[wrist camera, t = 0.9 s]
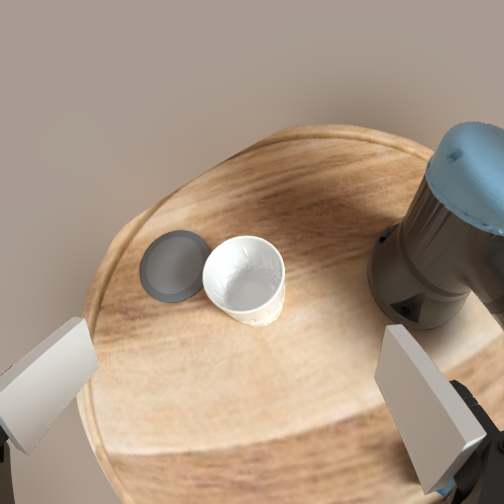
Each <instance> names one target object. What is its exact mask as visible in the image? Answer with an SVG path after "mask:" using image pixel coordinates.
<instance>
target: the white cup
mask: <svg viewBox="0 0 504 504" xmlns="http://www.w3.org/2000/svg"><path fill="white" fill-rule="evenodd" d="M203 286H204V289H205V292H206V294H207V296H208V297H209V299H210V300H211V301H212V302H213V303H214V304H215V305H216V306H218V307H219V308H220V309H222V310H223V311H224V312H226V313H227V314H228V315H230V316H231V317H233V318H234V319H236V320H238V321H239V322H241V323H243V324H246V325H249V326H252V327H260V326H266V325H268V324H269V323H271V322H273V321H274V320H276V319H277V317H278V316H279V314H280V313H281V311H282V309H283V303H284V298H285V268H284V263H283V259H282V257H281V255H280V253H279V252H278V250H277V249H276V248H275V247H274V246H273V245H272V244H271V243H269V242H268V241H266V240H264V239H262V238H259V237H255V236H238V237H234V238H231V239H228V240H226V241H225V242H223V243H221V244H220V245H219V246H217V247H216V248H215V249H214V250H213V251H212V253H211V254H210V255H209V257H208V258H207V260H206V263H205V265H204V269H203Z"/></svg>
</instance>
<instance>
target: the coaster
mask: <svg viewBox="0 0 504 504" xmlns="http://www.w3.org/2000/svg"><path fill="white" fill-rule="evenodd" d="M210 254H211V253H210V250H209V248H208V246H207V244H206V243H205V241H204V240H203V239H202V238H201V237H200V236H198V235H197V234H195V233H193V232H190V231H184V230H179V231H173V232H169V233H167V234H165V235H163V236H161V237H160V238H158V239H157V240H156V241H154V242H153V243H152V245H151V246H150V247H149V248H148V250H147V251H146V253H145V255H144V257H143V260H142V263H141V269H140V275H141V281H142V284H143V286H144V288H145V290H146V291H147V292H148V293H149V294H150V295H151V296H152V297H154V298H155V299H157V300H159V301H162V302H165V303H177V302H181V301H184V300H187V299H189V298H190V297H192V296H193V295H195V294H196V293H197V292H198V291H199V290H200V289H201V288H202V287H203V269H204V265H205V263H206V260H207V258H208V257H209V255H210Z"/></svg>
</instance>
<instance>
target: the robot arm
mask: <svg viewBox="0 0 504 504" xmlns="http://www.w3.org/2000/svg"><path fill="white" fill-rule="evenodd" d="M368 281H369V286H370V289H371V292H372V295H373V297H374V299H375V301H376V303H377V304H378V306H379V307H380V308H381V310H382V311H383V312H384V313H385V314H386V315H387V316H388V317H389V318H390V319H391V320H393V321H394V322H396V323H397V324H398V325H387V326H386V328H385V333H384V338H383V343H382V347H381V352H380V356H379V360H378V364H377V368H376V372H375V376H374V379H375V381H376V383H377V385H378V387H379V389H380V392H381V394H382V396H383V398H384V400H385V402H386V404H387V406H388V409H389V411H390V413H391V415H392V417H393V420H394V422H395V424H396V426H397V428H398V431H399V433H400V435H401V438H402V440H403V442H404V444H405V447H406V449H407V452H408V454H409V456H410V459H411V461H412V463H413V466H414V468H415V471H416V473H417V476H418V478H419V481H420V483H421V486H422V489H423V491H424V494H425V495H426V494H429V493H431V492H434V491H437V490H439V489H441V488H444V487H445V486H446V485H447V484H448V483H449V482H450V481H451V479H452V478H454V480H455V483H456V484H455V485H454V486H453V487H452V488H451V489H450V491H449V492H448V493H447V494H446V495H445V496H444V497H443V499H442V500H441V501H445V500H446V499H447V498H448V497H449V499H448V501H447V504H504V431H501V432H500V431H499V430H498V428H497V427H496V426H495V424H494V423H493V422H492V420H491V419H490V417H489V416H488V415H487V413H486V412H485V411H484V409H483V408H482V407H481V406H480V405H478V402H477V400H476V399H475V398H473V395H472V394H471V393H470V391H469V390H468V389H467V388H466V387H465V386H464V385H462V384H461V383H459V382H458V381H456V380H453V381H448V380H447V379H446V377H445V376H444V375H443V373H442V372H441V371H440V370H439V368H438V367H437V366H436V365H435V363H434V362H433V361H432V360H431V358H430V357H429V356H428V355H427V353H426V352H425V351H424V350H423V349H422V347H421V346H420V345H419V344H418V343H417V341H416V340H415V339H414V338H413V337H412V335H411V334H410V333H409V332H408V331H407V330H406V328H409V329H414V330H428V329H432V328H435V327H437V326H439V325H441V324H443V323H445V322H447V321H449V320H450V319H451V318H453V317H454V316H455V315H456V314H457V313H458V312H459V310H460V309H461V308H462V306H463V304H464V302H465V301H466V299H467V297H468V295H469V294H470V292H471V290H472V291H473V292H474V293H475V295H476V296H477V297H478V298H479V299H480V301H481V302H482V303H483V304H484V305H485V307H486V308H487V309H488V310H489V312H490V313H491V315H492V316H493V317H494V319H495V320H496V321H497V323H498V324H499V325H500V327H501V328H502V329H503V331H504V129H502V128H500V127H497V126H494V125H491V124H485V123H481V122H465V123H461V124H458V125H455V126H454V127H452V128H451V129H450V130H448V132H446V134H445V135H444V136H443V138H442V140H441V142H440V144H439V146H438V148H437V150H436V152H435V154H434V155H433V156H432V157H431V158H430V159H429V161H428V164H427V167H426V173H425V175H424V177H423V179H422V182H421V184H420V186H419V188H418V190H417V192H416V194H415V197H414V199H413V201H412V203H411V205H410V207H409V209H408V211H407V213H406V215H405V216H404V217H402V218H401V219H399V220H398V221H396V222H395V223H393V224H391V225H390V226H389V227H387V228H386V229H385V230H384V231H383V232H382V233H381V235H380V236H379V237H378V239H377V241H376V243H375V245H374V247H373V249H372V251H371V254H370V257H369V261H368ZM405 327H406V328H405ZM98 368H99V364H98V361H97V358H96V355H95V352H94V348H93V345H92V342H91V338H90V335H89V331H88V327H87V323H86V319H85V318H80V317H73V318H71V319H70V320H68V321H67V322H66V323H65V324H63V325H62V326H61V327H59V328H58V329H57V330H56V331H54V332H53V333H52V334H51V335H49V336H48V337H47V338H46V339H44V340H43V341H42V342H41V343H39V344H38V345H37V346H36V347H35V348H33V349H32V350H31V351H30V352H28V353H27V354H26V355H25V356H24V357H22V358H21V359H20V360H19V361H18V362H16V363H15V364H14V365H12V366H11V367H10V368H9V369H8V370H7V371H5V373H3V374H2V375H1V376H0V504H15V501H14V494H13V486H12V477H11V466H10V448H9V445H8V443H7V442H6V440H8V438H10V440H11V441H12V443H13V444H14V445H15V447H16V448H17V449H19V450H20V451H22V452H23V453H25V454H27V455H28V456H29V455H30V453H31V452H32V451H33V449H34V448H35V447H36V445H37V444H38V443H39V441H40V440H41V439H42V437H43V436H44V435H45V433H46V432H47V431H48V430H49V428H50V427H51V426H52V424H53V423H54V422H55V421H56V419H57V418H58V417H59V416H60V414H61V413H62V412H63V411H64V409H65V408H66V407H67V405H68V404H69V403H70V402H71V401H72V399H73V398H74V397H75V396H76V394H77V393H78V392H79V391H80V390H81V388H82V387H83V386H84V385H85V383H86V382H87V381H88V380H89V379H90V377H91V376H92V375H93V374H94V373H95V371H96V370H97V369H98Z"/></svg>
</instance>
